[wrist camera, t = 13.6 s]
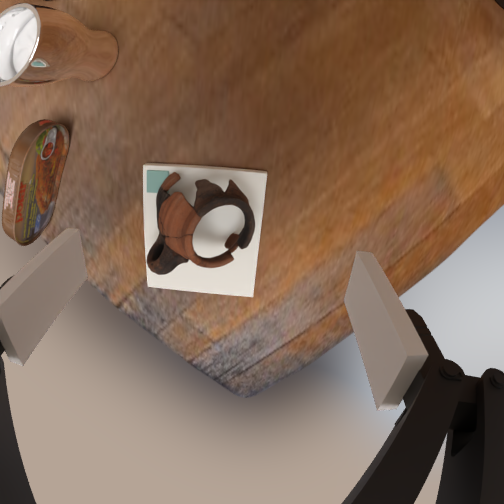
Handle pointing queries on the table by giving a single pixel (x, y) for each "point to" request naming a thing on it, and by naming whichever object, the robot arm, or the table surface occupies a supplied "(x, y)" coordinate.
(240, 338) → the table surface
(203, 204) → the broken pottery vessel
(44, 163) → the tin
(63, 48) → the beer glass
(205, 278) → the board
